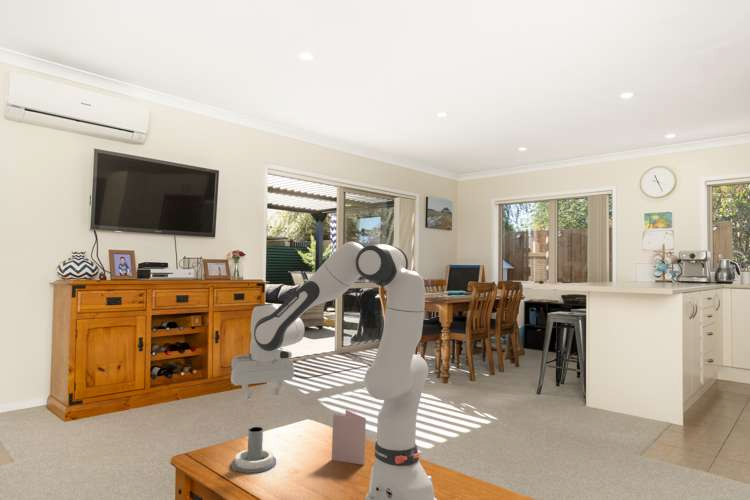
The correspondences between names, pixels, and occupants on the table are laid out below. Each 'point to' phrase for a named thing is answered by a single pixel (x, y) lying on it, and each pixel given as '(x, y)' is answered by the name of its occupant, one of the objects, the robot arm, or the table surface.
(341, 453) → the greeting card
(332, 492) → the table surface
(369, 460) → the table surface
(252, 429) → the grey cylinder
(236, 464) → the ring dish
